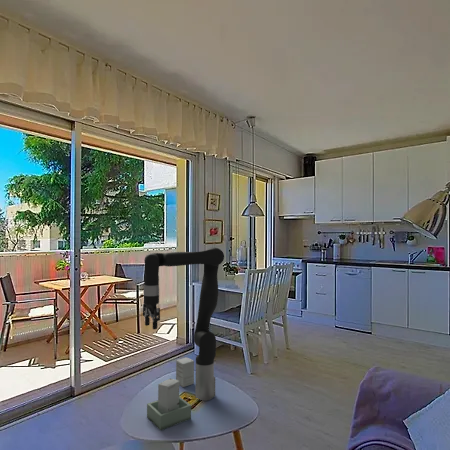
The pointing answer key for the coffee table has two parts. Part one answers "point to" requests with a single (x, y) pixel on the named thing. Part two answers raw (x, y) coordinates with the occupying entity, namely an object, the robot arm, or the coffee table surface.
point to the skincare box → (168, 396)
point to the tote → (168, 414)
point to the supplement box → (185, 371)
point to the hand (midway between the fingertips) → (151, 327)
